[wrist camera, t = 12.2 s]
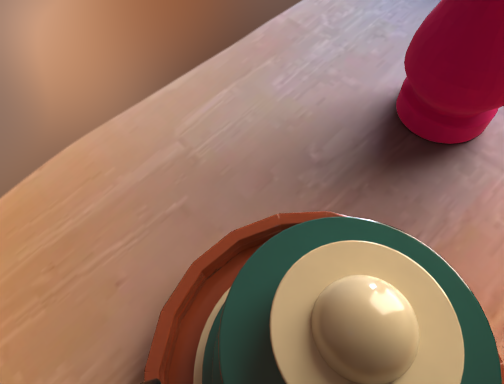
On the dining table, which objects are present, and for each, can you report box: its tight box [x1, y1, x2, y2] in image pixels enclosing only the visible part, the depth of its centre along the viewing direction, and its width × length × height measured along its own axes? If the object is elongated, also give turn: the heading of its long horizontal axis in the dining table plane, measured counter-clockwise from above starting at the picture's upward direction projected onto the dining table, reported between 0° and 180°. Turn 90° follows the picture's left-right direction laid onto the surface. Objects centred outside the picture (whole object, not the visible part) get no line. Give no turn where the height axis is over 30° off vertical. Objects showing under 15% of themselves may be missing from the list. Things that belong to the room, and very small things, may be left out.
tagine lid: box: [193, 216, 502, 384], centre depth 11 cm, size 11×11×13 cm
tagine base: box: [144, 211, 504, 384], centre depth 16 cm, size 15×16×3 cm
